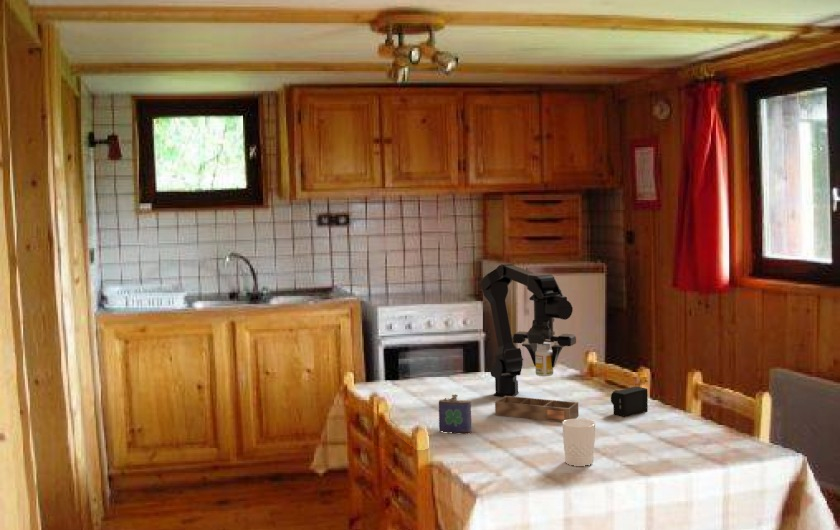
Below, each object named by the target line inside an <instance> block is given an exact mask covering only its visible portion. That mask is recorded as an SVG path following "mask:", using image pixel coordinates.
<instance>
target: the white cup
mask: <svg viewBox="0 0 840 530" xmlns="http://www.w3.org/2000/svg"><path fill="white" fill-rule="evenodd" d="M561 423H562V426H561V427H562V439H563V440H562V441H563V451H564V461H565V463H567V464H566V465H568V464H569V465H568V466H571V465H575V466H574V467H576V466H584V465H589V464H592V463H593V464H594V458H595V457H594V454H595V441H596V422H595V421H594V420H591V419H587V418H575V419H568V420H565V421H563V422H561ZM593 464H592V465H593ZM589 466H590V465H589ZM584 467H585V466H584Z"/></svg>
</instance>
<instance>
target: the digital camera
mask: <svg viewBox="0 0 840 530" xmlns="http://www.w3.org/2000/svg"><path fill="white" fill-rule="evenodd" d="M648 396H649V395H648V388H645V387H642V386H640V387H639V386H632V387H629V388H628V387H627V388H624V389H617V390H614V391H612V392H611V395H610V402H611V404H612V405H613V415H614V416H616V417H619V418H620V417H621V418H628V417H633V416H636V415H639V414H643V413H646V412H648V408H649V407H648V406H649V405H648V404H649V403H648V402H649V399H648Z"/></svg>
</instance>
